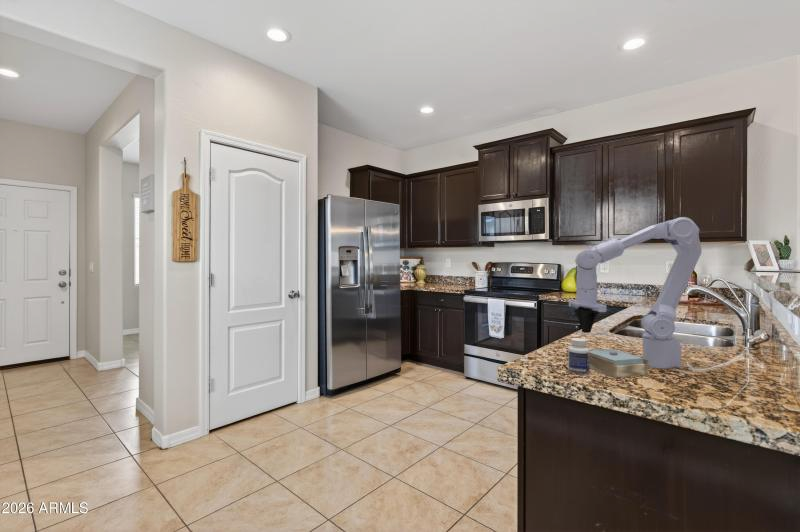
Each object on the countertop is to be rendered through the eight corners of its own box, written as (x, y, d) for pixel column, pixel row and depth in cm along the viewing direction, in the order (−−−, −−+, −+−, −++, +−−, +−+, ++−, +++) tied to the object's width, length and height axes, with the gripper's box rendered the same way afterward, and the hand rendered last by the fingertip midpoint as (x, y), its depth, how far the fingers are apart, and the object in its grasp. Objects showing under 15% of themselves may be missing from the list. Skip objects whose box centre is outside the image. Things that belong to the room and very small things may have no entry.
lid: (612, 354, 115) (612, 347, 115) (643, 363, 104) (643, 356, 104) (585, 355, 113) (585, 348, 113) (614, 366, 102) (614, 358, 102)
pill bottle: (592, 377, 104) (592, 341, 104) (570, 376, 105) (570, 341, 105) (586, 371, 109) (586, 337, 109) (566, 370, 110) (566, 337, 110)
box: (613, 365, 116) (613, 349, 116) (648, 377, 104) (648, 359, 104) (581, 367, 113) (581, 351, 113) (613, 380, 101) (613, 362, 101)
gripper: (560, 287, 125) (560, 328, 125) (591, 290, 111) (591, 337, 111) (579, 286, 127) (579, 327, 127) (612, 290, 112) (612, 336, 113)
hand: (586, 332), depth 119 cm, fingers closed
